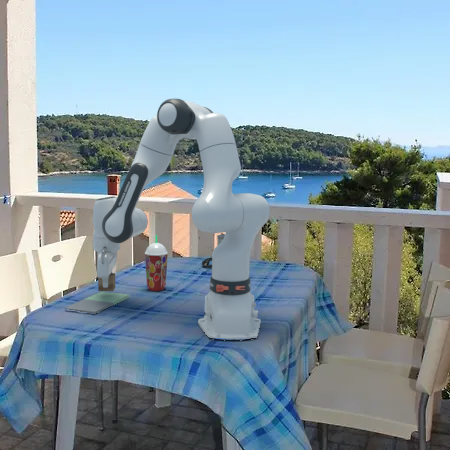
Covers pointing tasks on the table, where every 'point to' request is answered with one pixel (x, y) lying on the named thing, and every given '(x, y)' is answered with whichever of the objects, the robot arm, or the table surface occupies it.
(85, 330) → the table surface
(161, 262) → the smoothie
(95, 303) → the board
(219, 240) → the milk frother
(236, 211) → the robot arm
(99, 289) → the walnut block
